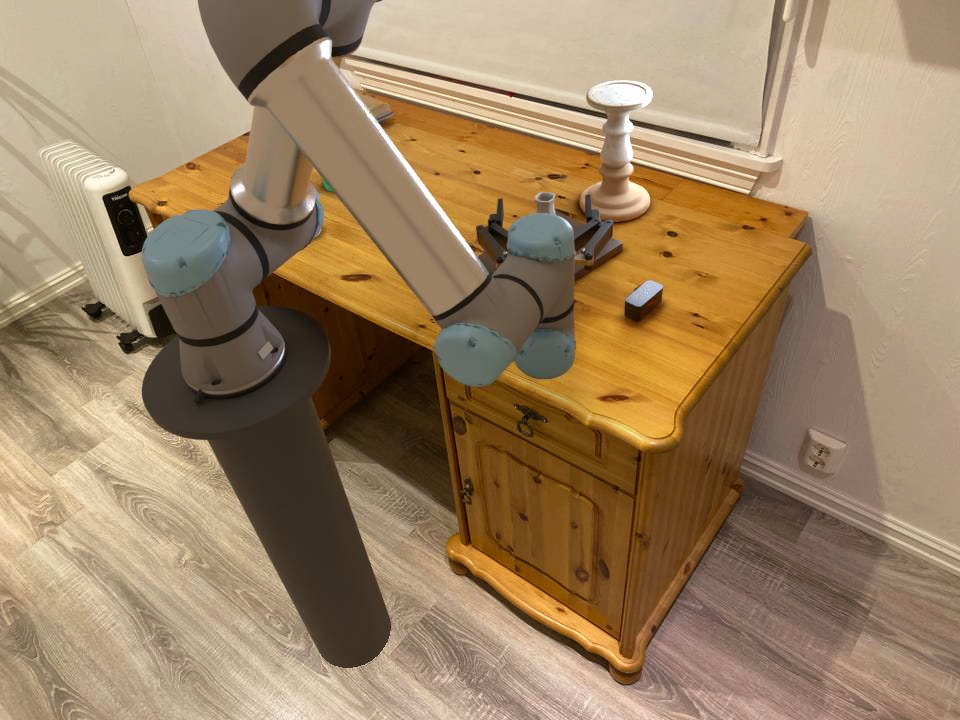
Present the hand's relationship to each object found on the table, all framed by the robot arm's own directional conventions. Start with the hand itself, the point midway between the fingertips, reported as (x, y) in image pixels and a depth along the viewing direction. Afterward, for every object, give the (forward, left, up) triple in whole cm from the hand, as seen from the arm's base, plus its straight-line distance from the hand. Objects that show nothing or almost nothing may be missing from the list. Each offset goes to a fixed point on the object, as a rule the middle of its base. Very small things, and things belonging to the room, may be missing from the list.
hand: (543, 204), depth 112 cm
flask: (-1, -2, -8) cm, 8 cm away
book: (+1, +69, -9) cm, 69 cm away
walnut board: (-2, -2, -9) cm, 9 cm away
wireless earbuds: (-1, -21, -9) cm, 23 cm away
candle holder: (+18, +1, -9) cm, 21 cm away
